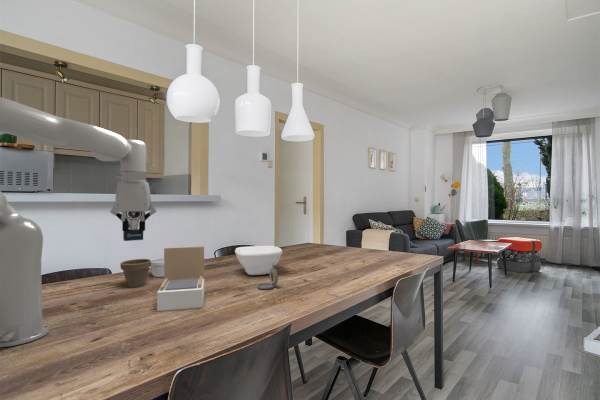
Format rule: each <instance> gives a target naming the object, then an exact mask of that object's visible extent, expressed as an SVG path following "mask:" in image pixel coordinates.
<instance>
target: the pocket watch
mask: <svg viewBox="0 0 600 400" xmlns="http://www.w3.org/2000/svg"><path fill="white" fill-rule="evenodd" d="M273 263H275V262H273ZM273 263H272V267H273V268H271V270H270V273H269V280H270V281H269V282H270V283H266V282H264V283H258V284H257V288H258V289H259V290H270V289H273V288H274V287H275V285H277V284H278V281H279V276H278V271H277V269H276V268H275V266H276V264H275V265H274V264H273Z"/></svg>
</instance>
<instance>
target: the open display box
mask: <svg viewBox="0 0 600 400" xmlns="http://www.w3.org/2000/svg"><path fill="white" fill-rule="evenodd" d="M163 250H164V251H163V255H164V256H163V258H164V277H163V278H164V280H163V282H162V283H161V285H160V286H159V289H158V291H157V297H156V301H157V304H156V305H157V306H156V307H157V309H156V311H157V312H160V311H161V312H163V311H176V310H187V309H188V310H189V309H198V308H199V309H200V308H203V307H204V299H205V246H182V247H181V246H180V247H178V246H177V247H164V249H163Z"/></svg>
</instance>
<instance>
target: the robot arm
mask: <svg viewBox="0 0 600 400" xmlns="http://www.w3.org/2000/svg"><path fill="white" fill-rule="evenodd" d="M5 134H8V135H11V136H13V137H18V138H23V139H26V140H29V141H32V142H36V143H40V144H42V145H45V146H50V147H55V148H71V149H79V150H84V151H89V152H91V155H92V156H93V157H94V158H95V159H96V160H99V161H101V162H120V172H119V173H118V174H117V173H116V174H115V178H116V179H119V180H120V181H117V184H116V190H115V201H114V206H113V207H112V208H111V210H110V211H109V212H110V214H112V215H113V216H116V217H117V218H118V219H119V220H120V221H121V222H122V225H121V226H122V232H123V231H127V230H128V231H129V230H130V228H129V222H128V220H127V218H126V211H129V212H142V213H144V216H142V217H141V220H140V223H138V229H139V233H142V230H143V232H144V231H146V221H147V220H148V219H149V217H151V216H152V215H154V214H155V213H157V209H156V207H155V206H154V205H153V203H152V201H151V198H152V197H151V190H150V185H149V184H150V183H149V182H148V181H147V145H146V143H145V142H144V141H142V140H138V139H126V138H125V137H123V136H122V135H120V134H119V133H116V132H113V131H110V130H109V129H105V128H102V127H99V126H96V125H93V124H90V123H84V122H81V121H77V120H73V119H69V118H64V117H60V116H57V115H55V114H52V113H49V112H45V111H42V110H40V109H36V108H34V107H31V106H28V105H26V104H23V103H20V102H18V101H15V100H11V99H8V98H5V97H1V96H0V136H2V135H5ZM43 236H44V235H43V231H42V229H41V227H40V226H39V225H38V224H37V223H36V222H35V221H34V220H31V219H30V218H25V217H23V216H22V215H21V214H20V213H19V212H18V211H17V210H16V209H15V208H14V207H13V206H12V205H11V204H10V203H9V202H8V199H7V197H6V196H5V195H4V192H2V191H1V190H0V348H5V347H6V348H7V347H14V346H18V345H22V344H26V343H30V342H33V341H36V340H39V339H40V338H42V337H44V336H45V335H47V334H48V333H49V332H50V326H49V325H48V324H45V323H43V299H42V298H43V296H42V295H43V293H42V291H43V289H42V285H43V284H42V281H43V280H42V277H43V276H42V253H43V246H44V245H43V243H44V237H43Z"/></svg>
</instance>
